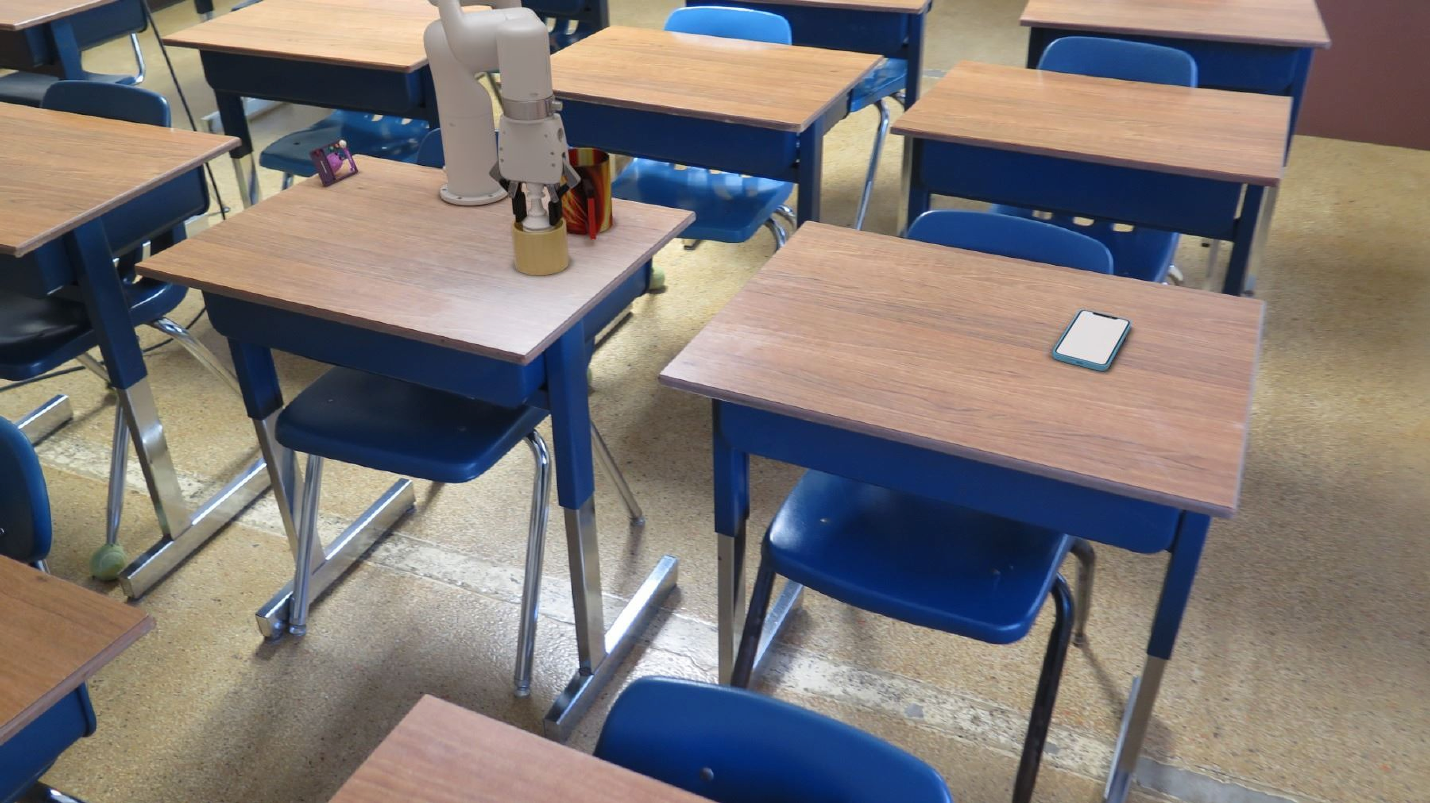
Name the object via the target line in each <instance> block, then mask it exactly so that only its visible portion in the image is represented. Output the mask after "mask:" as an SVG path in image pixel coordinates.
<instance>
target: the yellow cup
mask: <svg viewBox="0 0 1430 803" xmlns="http://www.w3.org/2000/svg"><path fill="white" fill-rule="evenodd" d="M546 214H547V215H549V213H548V212H547V213H546ZM528 215H529V214H527V216H528ZM527 216H526V217H527ZM526 217H525V218H526ZM525 218H524V219H525ZM524 219H523V220H524ZM523 220H522V221H521V222H520V223H517V222H516V220H515V219H513V220H512V221H511V225H510V229H511V230H510V231H511V241H512V248H513V249H512V251H513V261H514V267H515V270H517V271H518V272H520V273H522V274H525V275H530V276H548V275H553V274H556V273H557V274H558V273H560V272H562V271H564V270H565V269H567V267H568V266H569V264H570V256H569V255H570V254H569V243H568V233H567V226H566V220H565V219H564V218H561V219H560V221H559V222H558V223H557V224H556V225H555V230H553V231H550V232H545V233H526V232H523V224H522V222H523Z"/></svg>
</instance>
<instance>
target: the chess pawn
mask: <svg viewBox="0 0 1430 803" xmlns="http://www.w3.org/2000/svg"><path fill="white" fill-rule="evenodd" d="M525 187H526V190H527V191H528V192H527V194H526V198H528V199H531V200H530V201H531V204H530V209H529V210H527V215H528V216H527V217H526V218H525V219H524V220H523V222H522V224H523V232H526V233H545V232H550V231H553V230H555V226H551V225H550V224H549V215H547V214H548V209H546V208H544V205H543V200H542V199H543V198H545V197H546V193H545V192H544V189H545V184H543V183H532V182H525ZM546 213H547V214H546Z"/></svg>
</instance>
